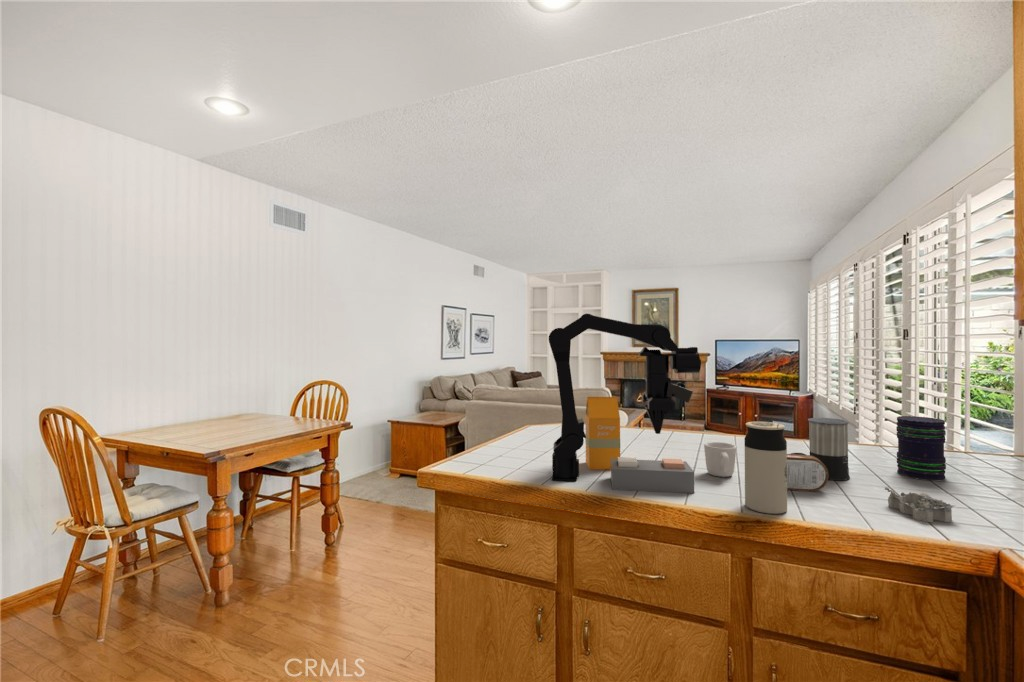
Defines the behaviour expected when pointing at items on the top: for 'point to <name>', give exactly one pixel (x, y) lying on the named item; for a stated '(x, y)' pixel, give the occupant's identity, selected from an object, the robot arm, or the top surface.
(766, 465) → the travel mug
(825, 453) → the milk frother
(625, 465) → the cream key
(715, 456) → the cup
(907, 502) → the egg carton
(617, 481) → the key console
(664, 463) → the terracotta key
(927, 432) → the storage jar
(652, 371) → the robot arm
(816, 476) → the tin
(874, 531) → the top surface
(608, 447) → the orange juice
